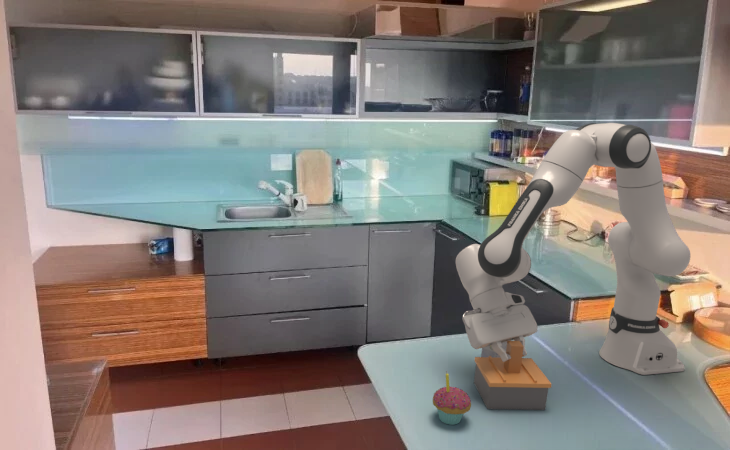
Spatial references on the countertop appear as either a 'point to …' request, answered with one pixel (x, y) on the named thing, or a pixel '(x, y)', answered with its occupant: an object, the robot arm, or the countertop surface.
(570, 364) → the countertop surface
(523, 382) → the lid
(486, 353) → the medicine box
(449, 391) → the cupcake
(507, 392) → the tub
